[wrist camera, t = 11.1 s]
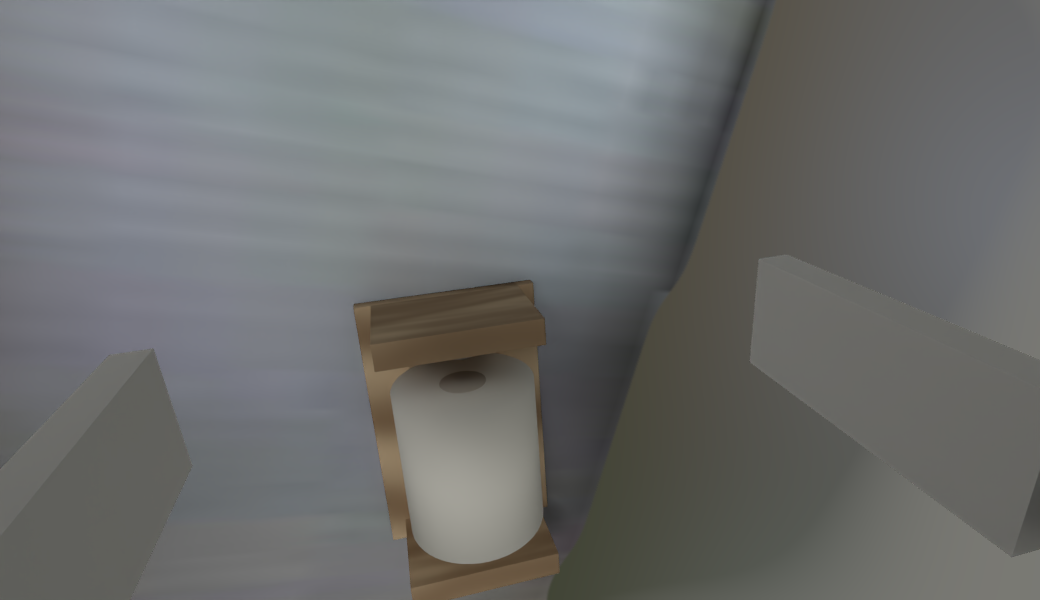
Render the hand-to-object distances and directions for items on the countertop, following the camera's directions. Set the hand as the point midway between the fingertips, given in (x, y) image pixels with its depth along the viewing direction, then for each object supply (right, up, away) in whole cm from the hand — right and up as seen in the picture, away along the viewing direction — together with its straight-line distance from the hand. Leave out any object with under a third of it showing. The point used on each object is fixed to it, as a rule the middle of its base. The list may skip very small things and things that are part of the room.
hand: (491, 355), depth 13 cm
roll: (-3, -6, +25) cm, 26 cm away
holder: (-4, -6, +26) cm, 27 cm away
